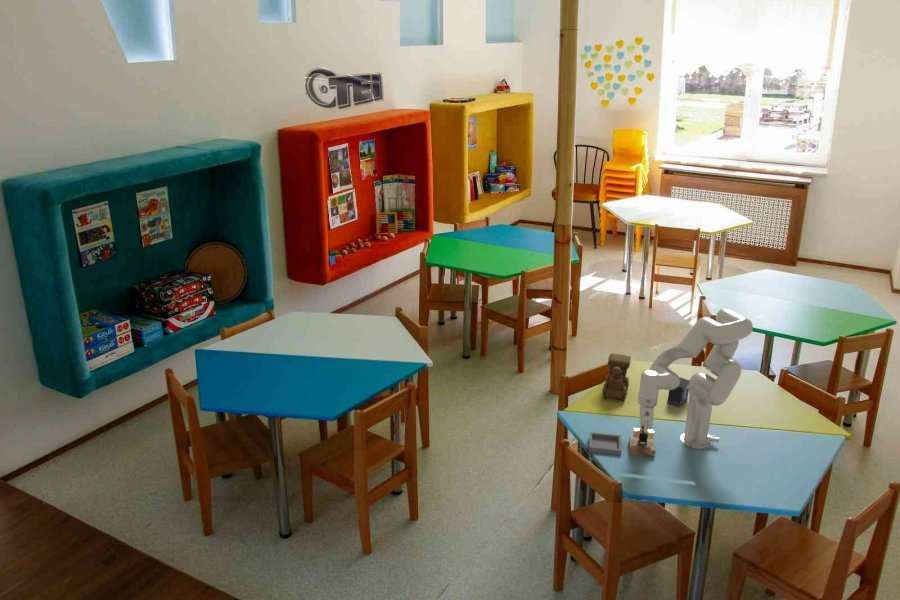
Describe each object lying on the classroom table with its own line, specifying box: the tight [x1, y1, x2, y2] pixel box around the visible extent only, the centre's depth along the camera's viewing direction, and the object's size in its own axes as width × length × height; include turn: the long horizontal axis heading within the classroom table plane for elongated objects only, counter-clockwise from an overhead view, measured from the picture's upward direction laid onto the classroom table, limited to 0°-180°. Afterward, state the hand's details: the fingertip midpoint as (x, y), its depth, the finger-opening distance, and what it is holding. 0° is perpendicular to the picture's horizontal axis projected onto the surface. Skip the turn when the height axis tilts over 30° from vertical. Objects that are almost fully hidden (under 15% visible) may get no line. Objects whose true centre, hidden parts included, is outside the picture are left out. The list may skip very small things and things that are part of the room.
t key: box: [632, 427, 655, 446], centre depth 322 cm, size 8×2×9 cm, turn 79°
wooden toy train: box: [602, 353, 632, 402], centre depth 373 cm, size 20×11×17 cm, turn 162°
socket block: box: [628, 435, 656, 458], centre depth 323 cm, size 10×10×4 cm
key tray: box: [588, 431, 623, 456], centre depth 326 cm, size 13×13×3 cm
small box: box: [666, 376, 690, 408], centre depth 367 cm, size 11×6×10 cm, turn 143°
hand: (642, 439), depth 322 cm, fingers closed on t key, 2 cm apart
